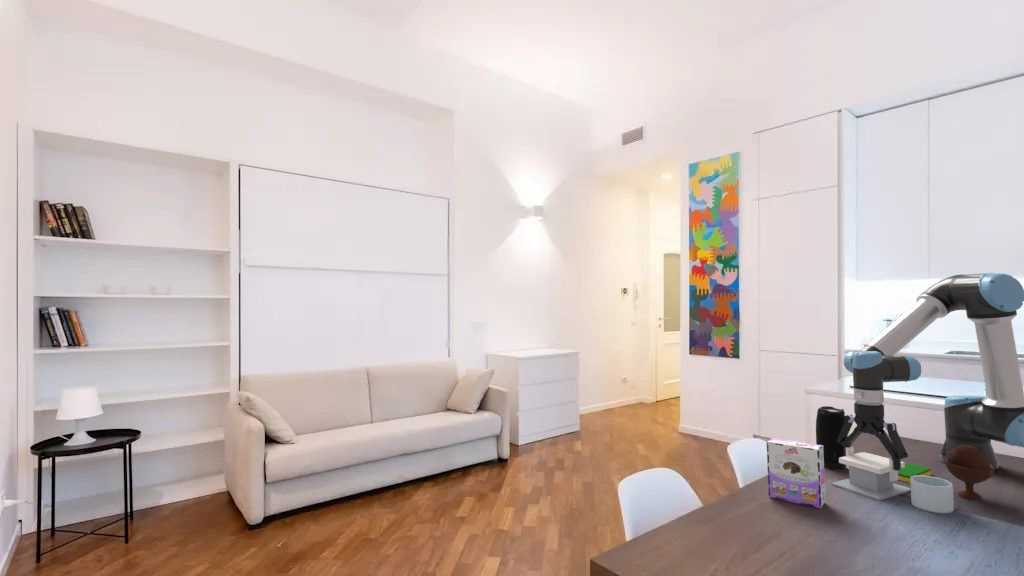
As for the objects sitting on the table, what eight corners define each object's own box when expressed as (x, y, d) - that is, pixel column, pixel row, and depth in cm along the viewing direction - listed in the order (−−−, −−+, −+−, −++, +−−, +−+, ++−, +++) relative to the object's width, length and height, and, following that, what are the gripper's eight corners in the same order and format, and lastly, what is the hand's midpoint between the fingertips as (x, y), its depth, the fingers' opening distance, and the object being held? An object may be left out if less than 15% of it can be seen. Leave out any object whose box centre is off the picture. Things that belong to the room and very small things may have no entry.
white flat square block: (863, 456, 166) (863, 451, 166) (904, 467, 156) (904, 462, 156) (838, 462, 161) (838, 457, 161) (880, 474, 150) (879, 469, 150)
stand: (864, 476, 168) (863, 457, 168) (912, 490, 155) (911, 470, 155) (831, 484, 161) (831, 465, 161) (879, 500, 149) (878, 479, 149)
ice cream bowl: (1005, 505, 144) (1004, 450, 144) (959, 502, 146) (957, 448, 146) (979, 490, 154) (978, 439, 154) (936, 488, 156) (934, 438, 157)
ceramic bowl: (922, 498, 150) (922, 473, 150) (960, 509, 142) (959, 483, 142) (904, 503, 146) (903, 478, 146) (941, 515, 138) (940, 489, 138)
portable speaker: (820, 460, 185) (818, 404, 185) (851, 465, 178) (849, 408, 179) (813, 466, 178) (812, 408, 179) (845, 472, 172) (844, 412, 172)
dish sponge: (932, 475, 168) (931, 468, 168) (910, 484, 162) (910, 476, 162) (906, 469, 174) (906, 462, 175) (884, 477, 168) (884, 470, 168)
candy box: (826, 503, 148) (824, 444, 148) (821, 509, 143) (819, 449, 144) (773, 491, 157) (772, 436, 157) (767, 497, 153) (766, 440, 153)
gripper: (822, 397, 168) (824, 464, 168) (905, 411, 146) (908, 489, 146) (837, 394, 171) (839, 460, 171) (920, 408, 149) (923, 484, 149)
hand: (871, 474), depth 158 cm, fingers closed on white flat square block, 12 cm apart
